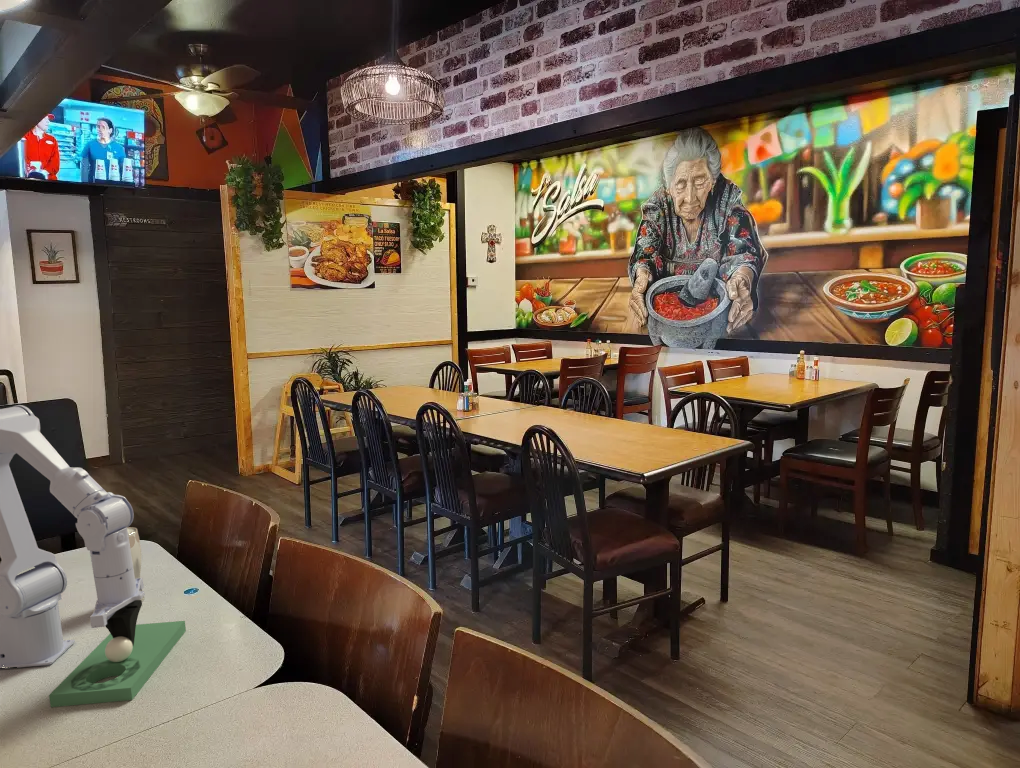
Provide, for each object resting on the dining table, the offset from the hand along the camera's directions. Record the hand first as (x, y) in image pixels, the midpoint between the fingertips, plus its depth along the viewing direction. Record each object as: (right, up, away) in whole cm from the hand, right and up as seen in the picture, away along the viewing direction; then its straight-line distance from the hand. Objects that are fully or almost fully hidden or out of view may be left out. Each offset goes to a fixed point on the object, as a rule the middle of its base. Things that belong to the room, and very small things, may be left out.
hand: (125, 647), depth 115 cm
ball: (0, 0, -2) cm, 2 cm away
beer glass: (-14, -1, +26) cm, 29 cm away
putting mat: (-1, -3, +1) cm, 3 cm away
